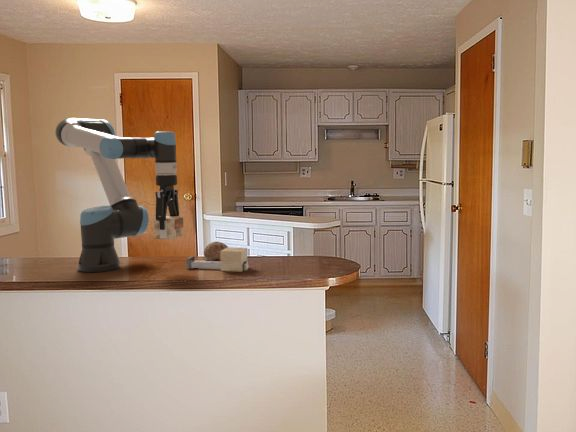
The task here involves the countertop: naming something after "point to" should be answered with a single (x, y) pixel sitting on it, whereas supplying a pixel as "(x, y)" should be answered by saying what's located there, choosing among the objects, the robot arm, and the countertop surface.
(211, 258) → the seashell
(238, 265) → the rail
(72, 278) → the countertop surface
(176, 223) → the slotted tan cube
